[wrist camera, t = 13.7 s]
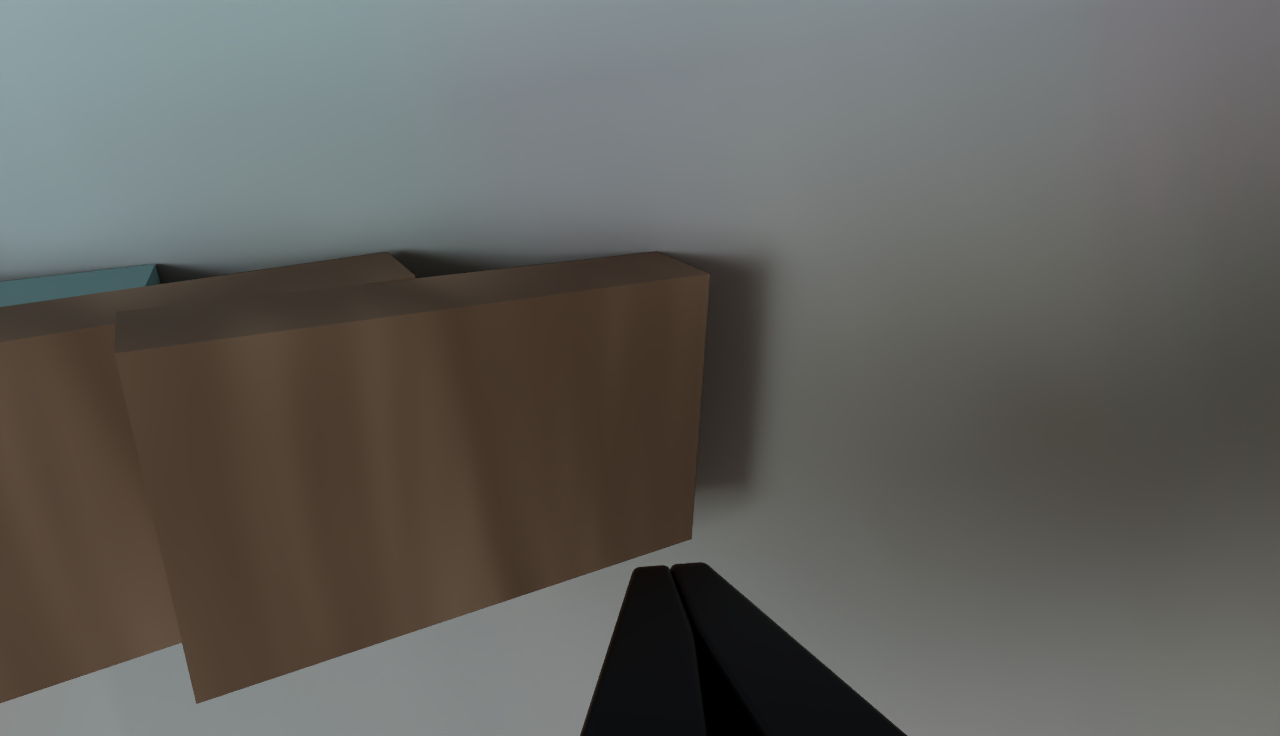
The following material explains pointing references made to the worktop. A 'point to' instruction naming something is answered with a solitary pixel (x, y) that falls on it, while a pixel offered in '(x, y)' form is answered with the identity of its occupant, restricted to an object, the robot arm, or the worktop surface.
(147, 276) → the teal domino
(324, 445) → the domino
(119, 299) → the domino
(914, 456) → the worktop surface
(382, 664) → the worktop surface
